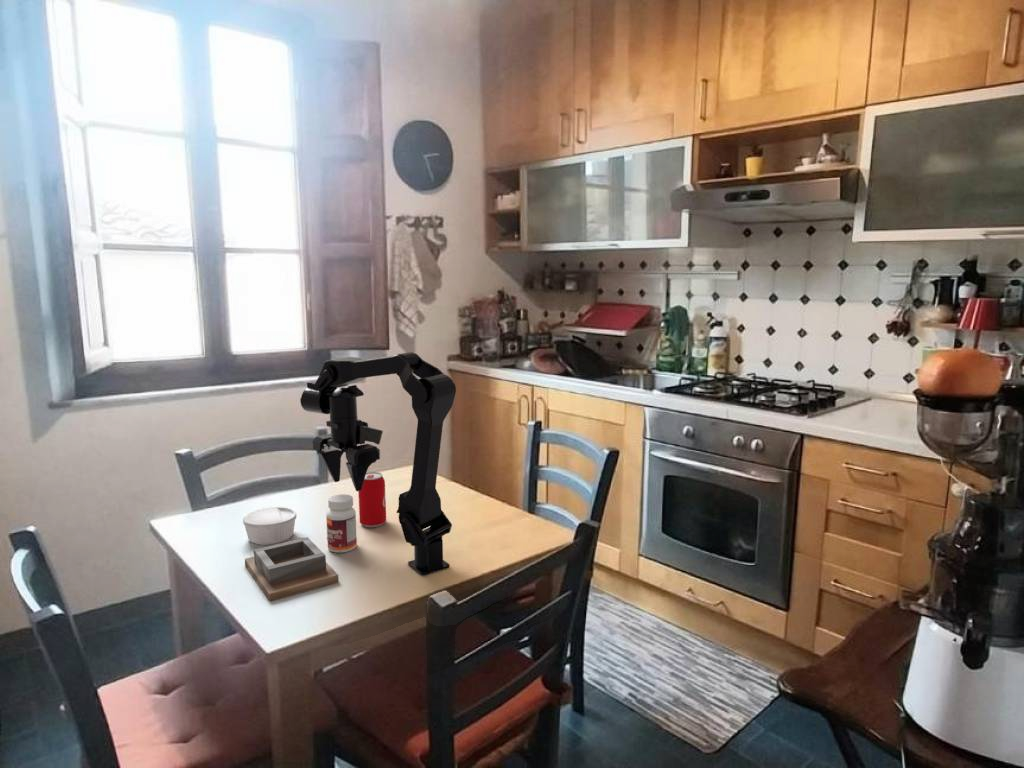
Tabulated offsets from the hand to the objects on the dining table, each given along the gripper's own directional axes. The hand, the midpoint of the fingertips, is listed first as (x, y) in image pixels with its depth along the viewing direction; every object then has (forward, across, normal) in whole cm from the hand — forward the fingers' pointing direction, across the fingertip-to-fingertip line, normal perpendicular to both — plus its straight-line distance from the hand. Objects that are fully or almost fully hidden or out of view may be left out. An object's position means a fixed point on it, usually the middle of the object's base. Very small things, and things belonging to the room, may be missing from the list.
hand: (347, 486), depth 142 cm
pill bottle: (+13, -1, +3) cm, 14 cm away
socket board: (+13, -5, +16) cm, 22 cm away
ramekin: (+13, +15, +11) cm, 23 cm away
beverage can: (+13, +6, -10) cm, 17 cm away
